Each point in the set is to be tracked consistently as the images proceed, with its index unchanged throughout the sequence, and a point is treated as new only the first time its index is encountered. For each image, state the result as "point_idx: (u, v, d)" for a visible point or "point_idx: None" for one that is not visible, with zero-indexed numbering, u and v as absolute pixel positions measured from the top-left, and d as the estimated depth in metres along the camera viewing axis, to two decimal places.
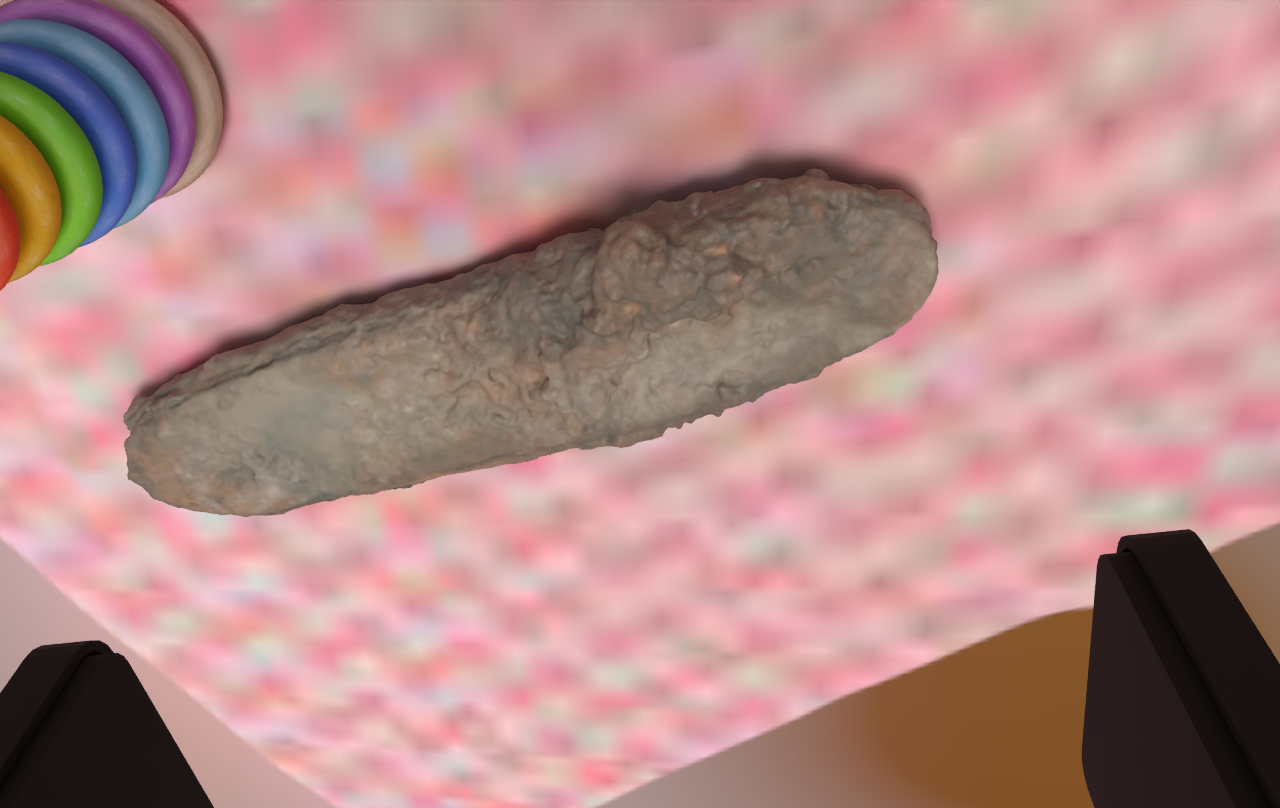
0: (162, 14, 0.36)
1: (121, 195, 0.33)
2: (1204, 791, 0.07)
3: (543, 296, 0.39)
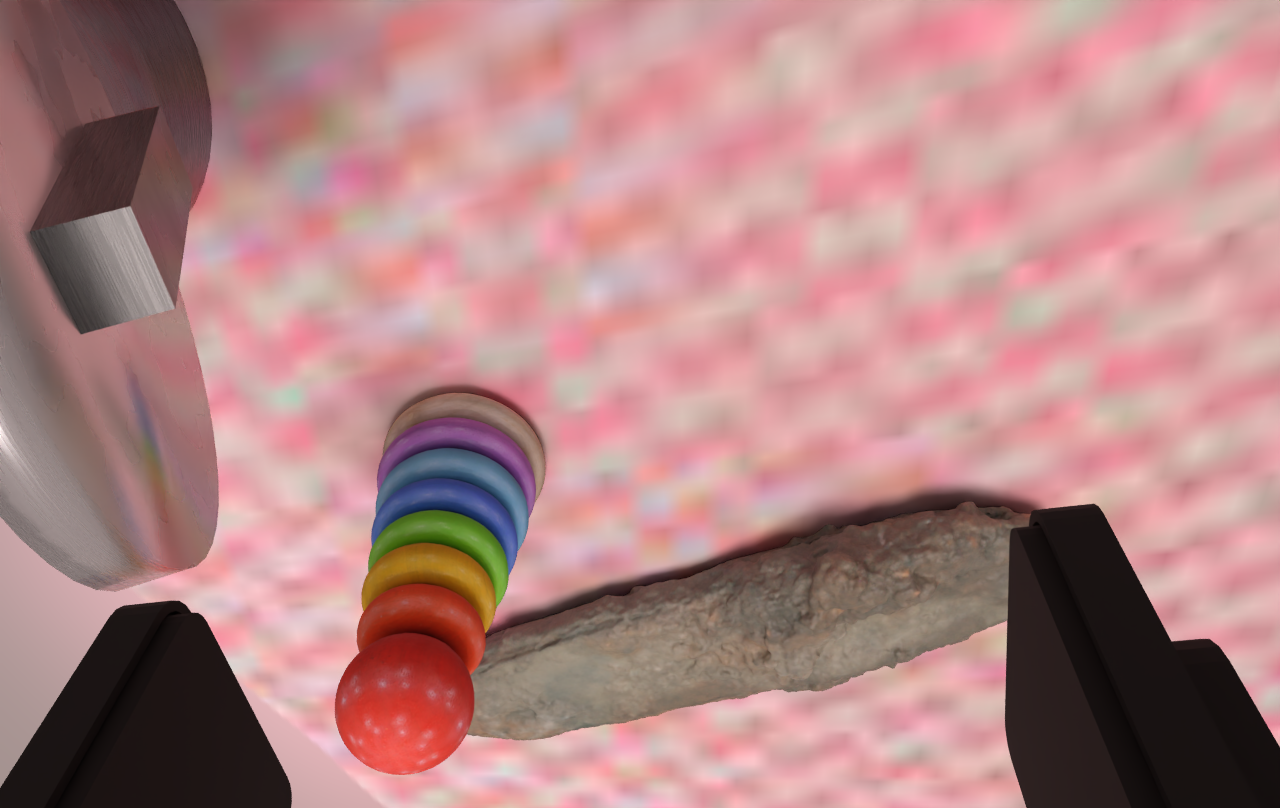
0: (516, 420, 0.51)
1: (509, 571, 0.48)
2: (1089, 745, 0.08)
3: (770, 601, 0.53)
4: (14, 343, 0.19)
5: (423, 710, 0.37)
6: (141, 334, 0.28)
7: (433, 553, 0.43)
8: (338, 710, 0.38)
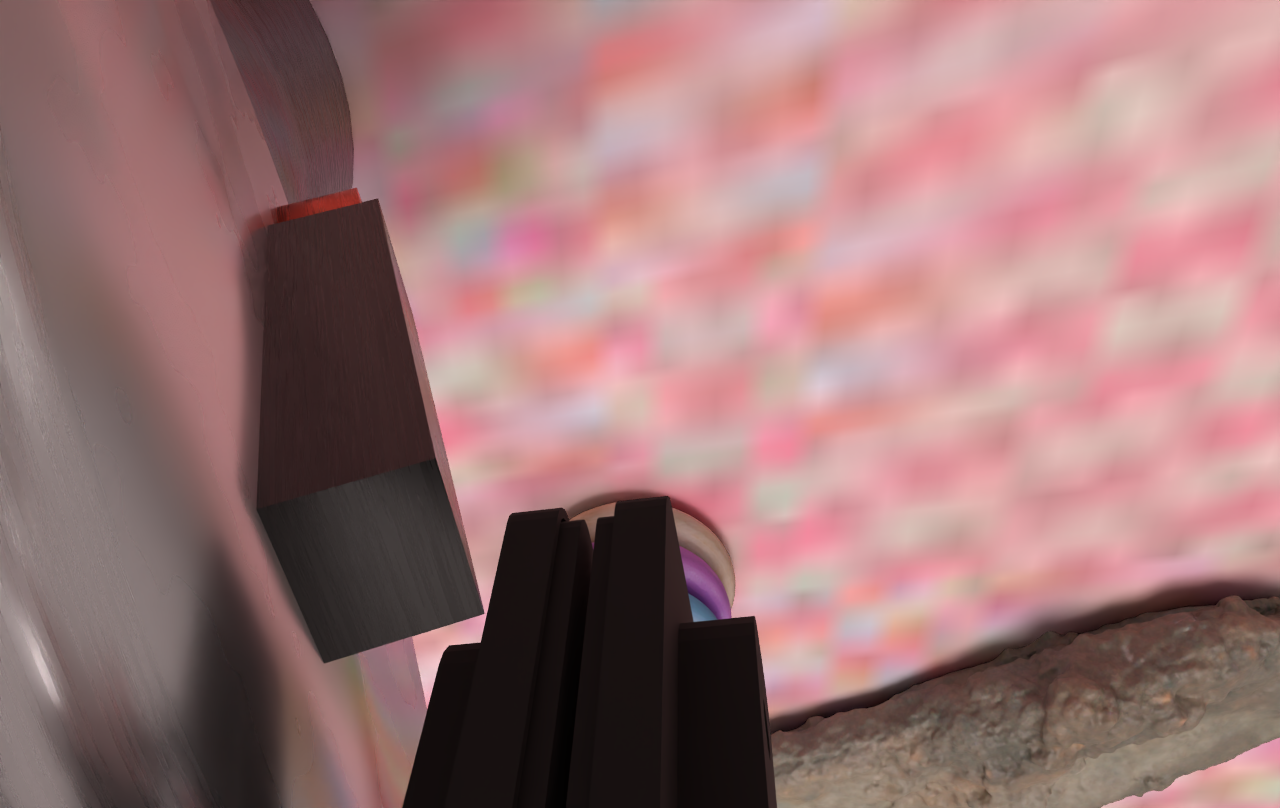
0: (707, 536, 0.41)
1: None
2: None
3: (989, 737, 0.43)
4: None
5: None
6: None
7: None
8: None
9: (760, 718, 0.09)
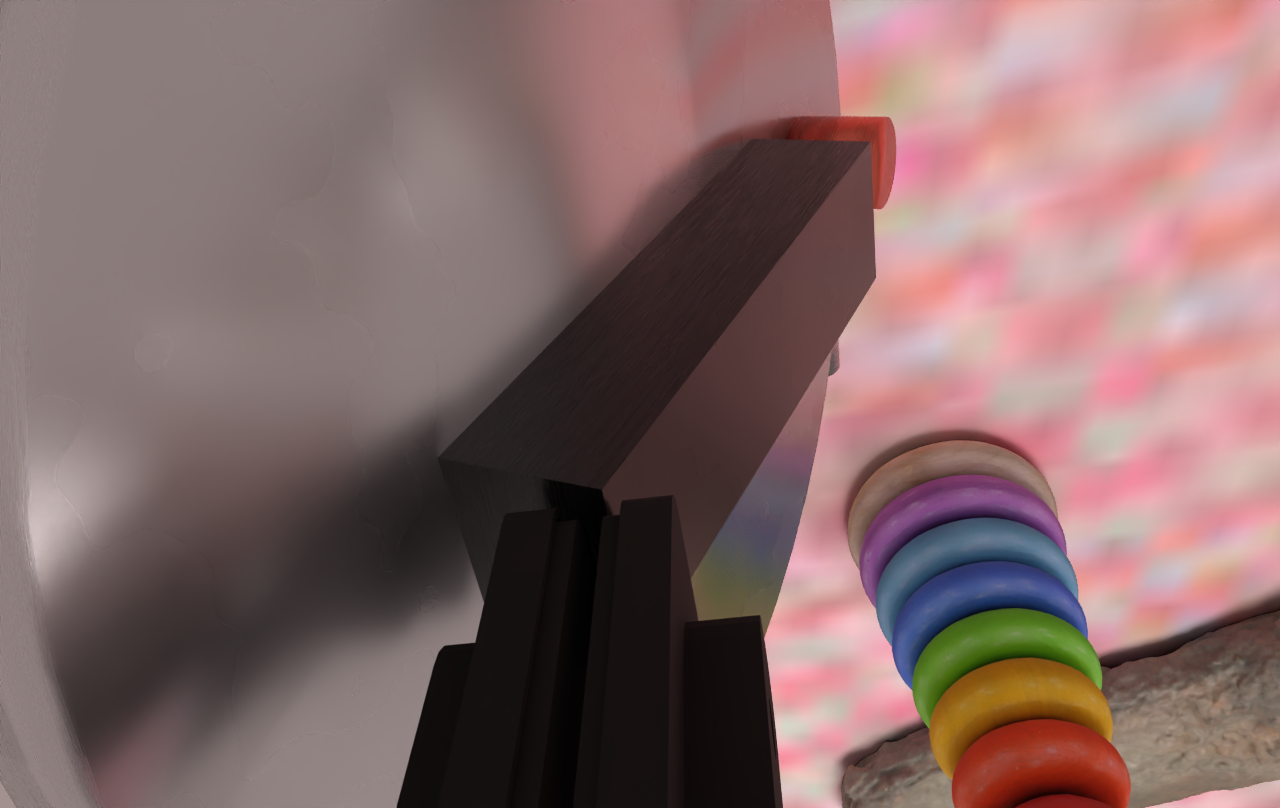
0: (1039, 476, 0.40)
1: None
2: None
3: None
4: (204, 795, 0.09)
5: None
6: None
7: (1056, 675, 0.32)
8: None
9: (766, 717, 0.09)
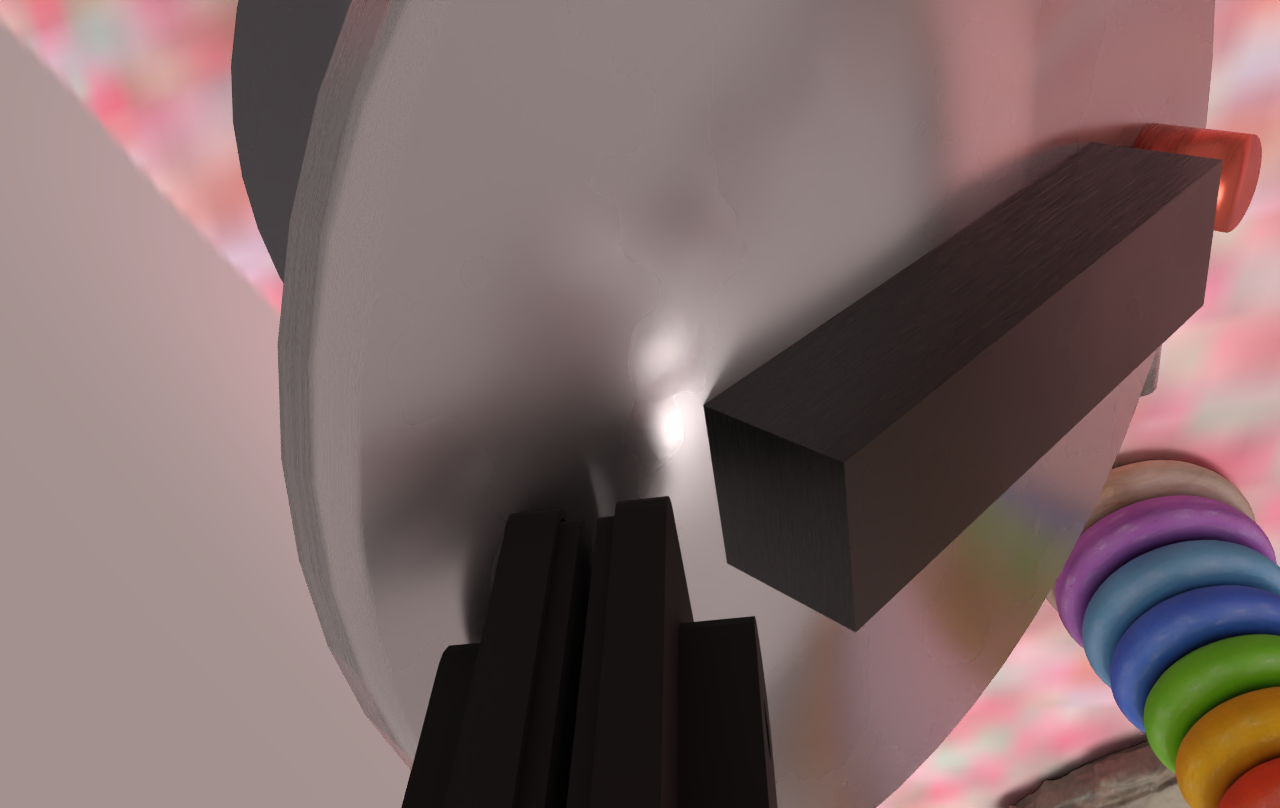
0: (1242, 496, 0.38)
1: None
2: None
3: None
4: None
5: None
6: None
7: None
8: None
9: (761, 718, 0.09)
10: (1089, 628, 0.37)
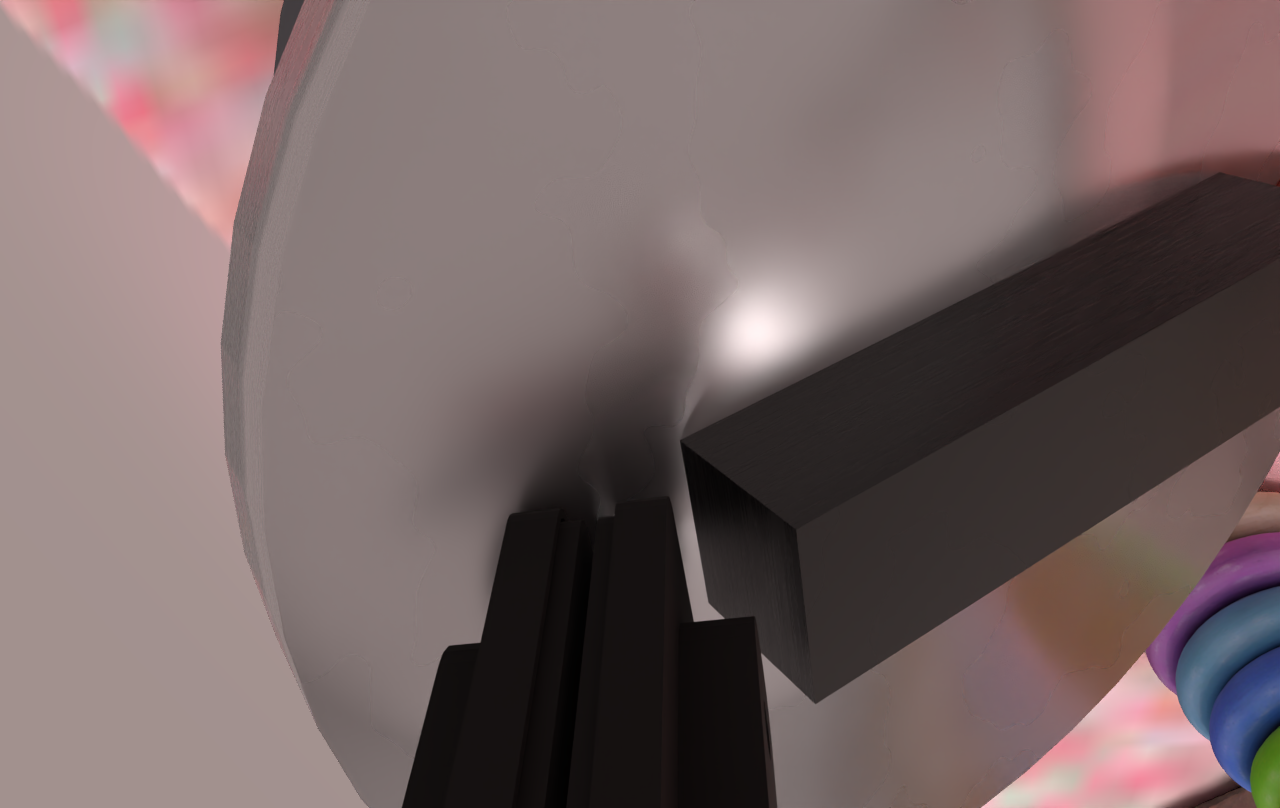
0: None
1: None
2: None
3: None
4: (373, 664, 0.11)
5: None
6: None
7: None
8: None
9: (760, 718, 0.09)
10: (1185, 675, 0.34)
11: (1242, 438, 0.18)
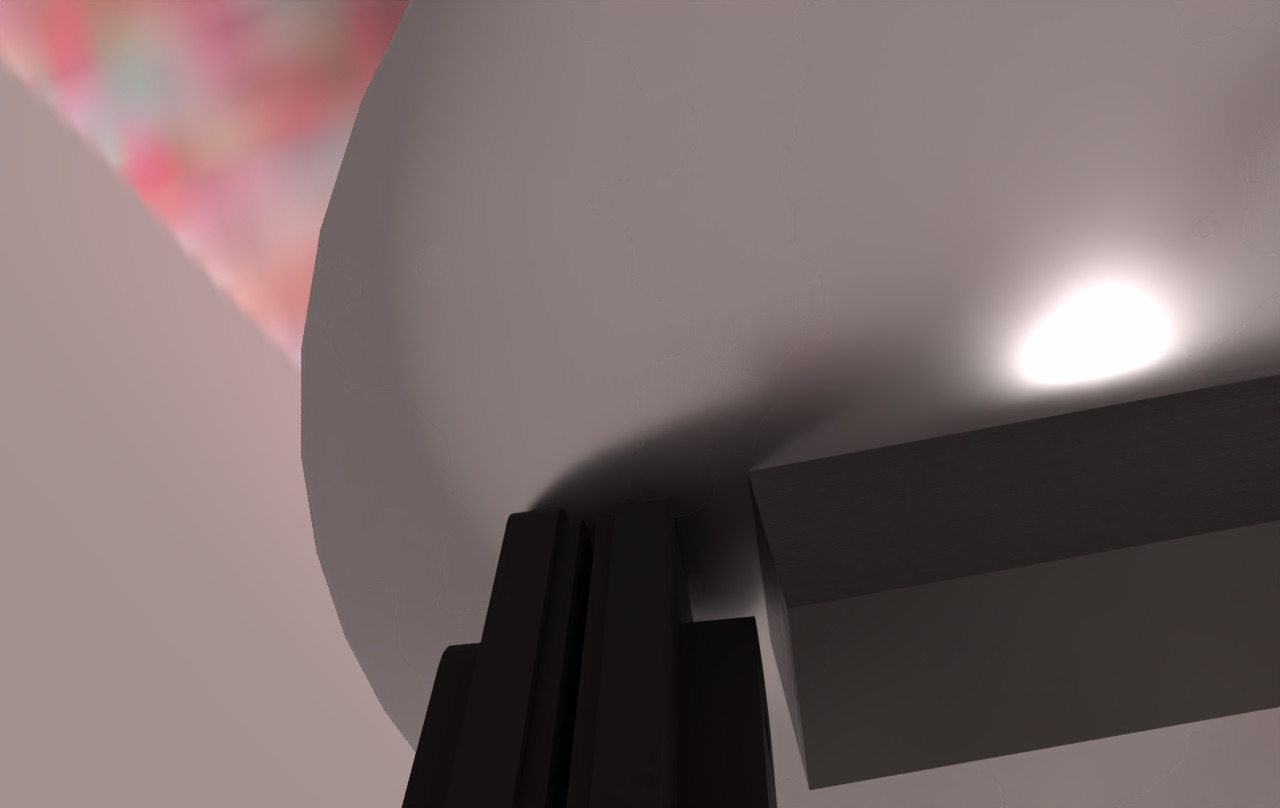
0: None
1: None
2: None
3: None
4: (400, 598, 0.11)
5: None
6: None
7: None
8: None
9: (760, 718, 0.09)
10: None
11: None
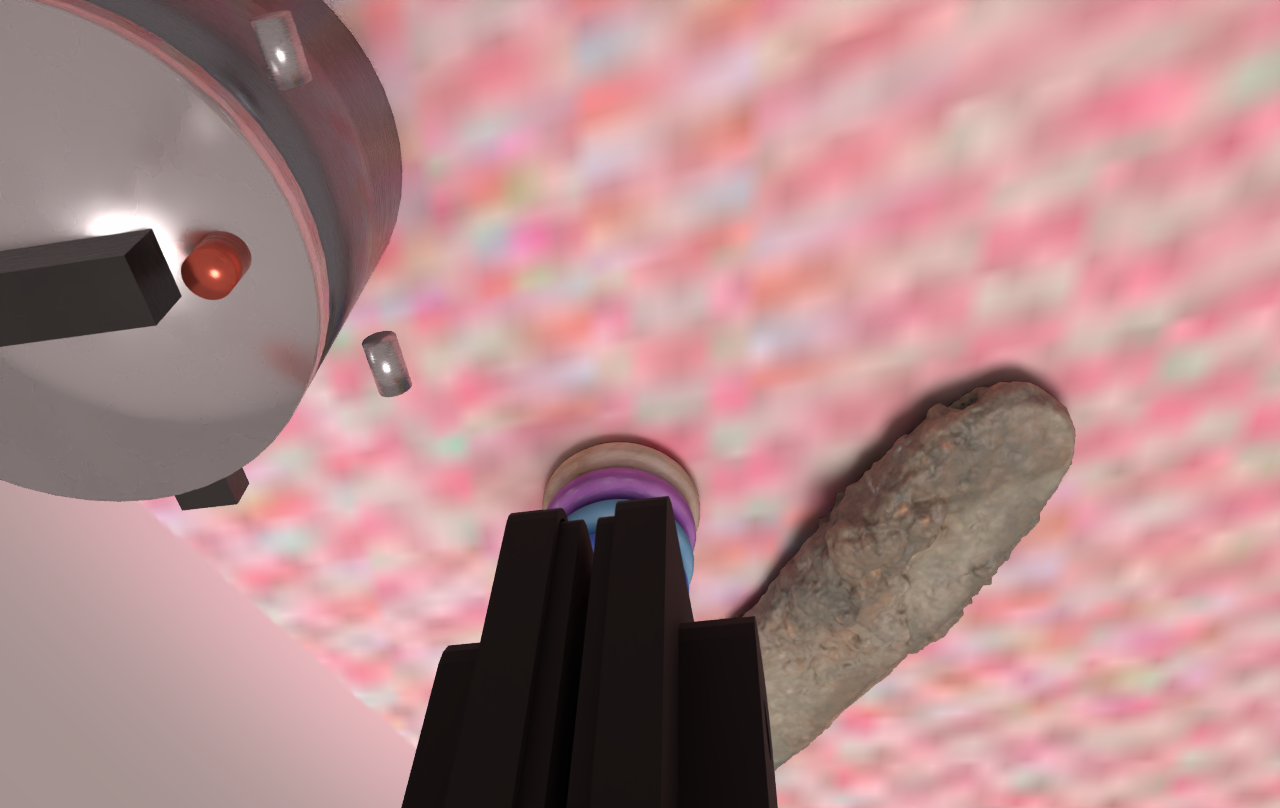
0: (676, 468, 0.52)
1: None
2: None
3: (817, 593, 0.53)
4: None
5: None
6: (93, 371, 0.36)
7: None
8: None
9: (761, 718, 0.09)
10: None
11: (261, 367, 0.36)
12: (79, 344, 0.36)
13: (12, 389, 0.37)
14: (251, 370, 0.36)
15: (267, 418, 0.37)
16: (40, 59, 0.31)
